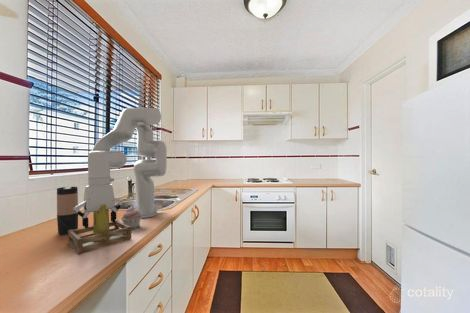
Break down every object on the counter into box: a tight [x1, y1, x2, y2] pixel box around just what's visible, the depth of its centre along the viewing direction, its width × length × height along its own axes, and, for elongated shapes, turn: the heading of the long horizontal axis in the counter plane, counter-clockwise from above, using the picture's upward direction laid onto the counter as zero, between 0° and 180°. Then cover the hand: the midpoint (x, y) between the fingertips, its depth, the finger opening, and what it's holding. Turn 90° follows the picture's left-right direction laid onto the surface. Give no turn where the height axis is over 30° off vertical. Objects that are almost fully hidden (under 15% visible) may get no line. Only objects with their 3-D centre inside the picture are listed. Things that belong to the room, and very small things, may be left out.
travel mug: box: [56, 186, 79, 236], centre depth 101 cm, size 8×8×20 cm
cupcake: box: [120, 206, 143, 230], centre depth 107 cm, size 9×9×10 cm
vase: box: [92, 204, 110, 242], centre depth 90 cm, size 6×6×14 cm
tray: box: [67, 219, 132, 255], centre depth 90 cm, size 18×14×5 cm
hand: (100, 224), depth 90 cm, fingers open, 9 cm apart
